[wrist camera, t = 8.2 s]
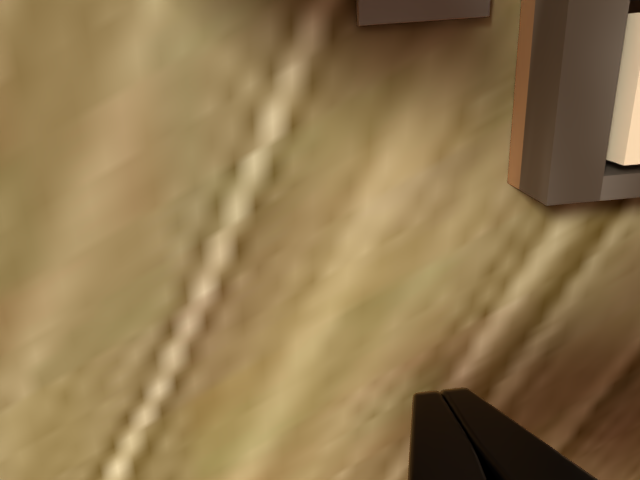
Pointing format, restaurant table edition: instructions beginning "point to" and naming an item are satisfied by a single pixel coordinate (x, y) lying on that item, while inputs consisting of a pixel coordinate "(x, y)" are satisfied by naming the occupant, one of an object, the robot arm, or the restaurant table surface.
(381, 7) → the tile
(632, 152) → the key ivory
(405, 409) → the restaurant table surface
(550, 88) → the keypad
